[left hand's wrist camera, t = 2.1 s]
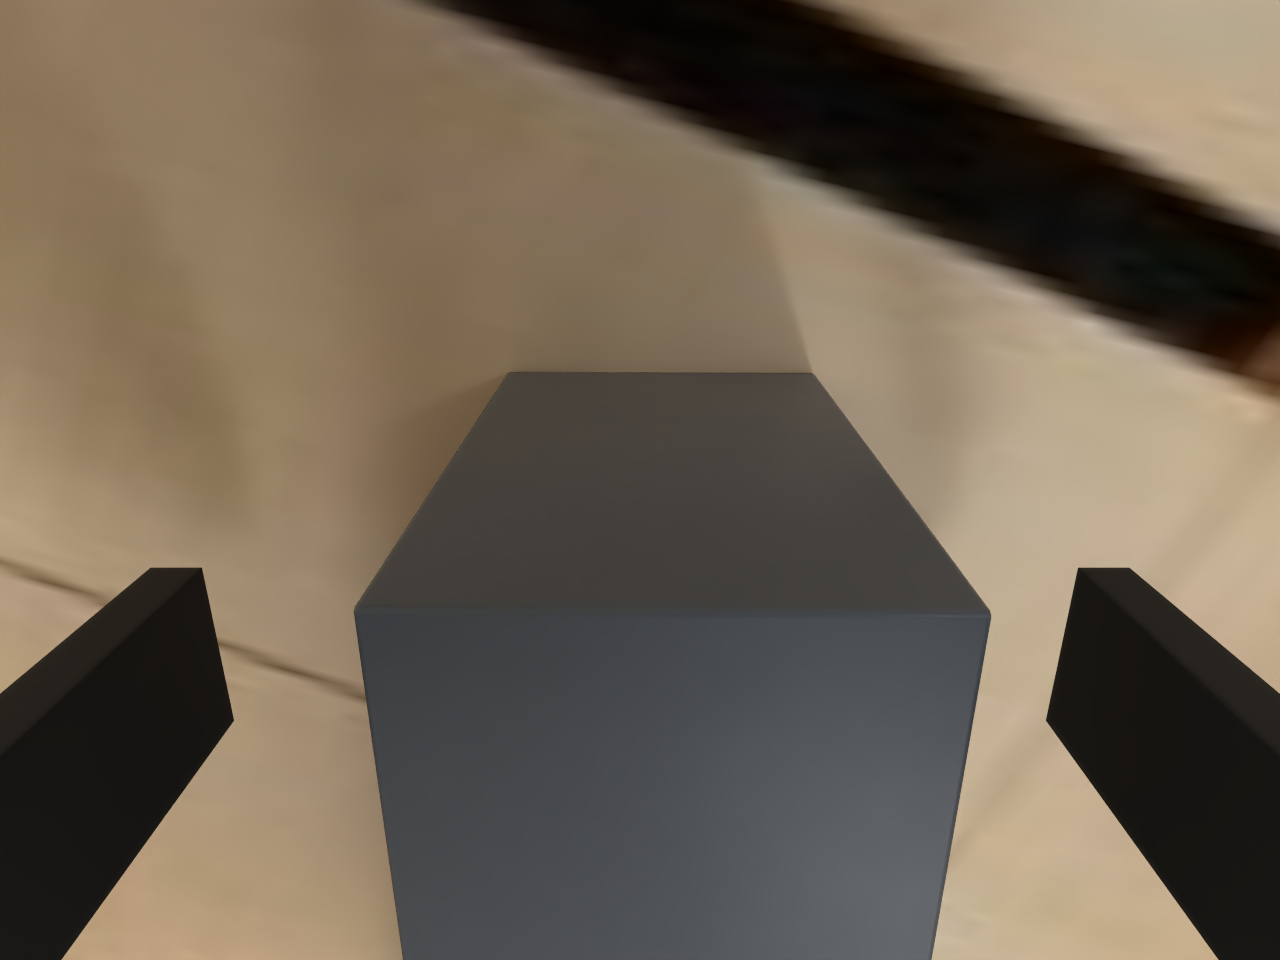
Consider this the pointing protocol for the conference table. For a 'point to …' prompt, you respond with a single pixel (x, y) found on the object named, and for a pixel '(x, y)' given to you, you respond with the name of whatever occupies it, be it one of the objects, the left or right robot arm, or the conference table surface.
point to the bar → (668, 682)
